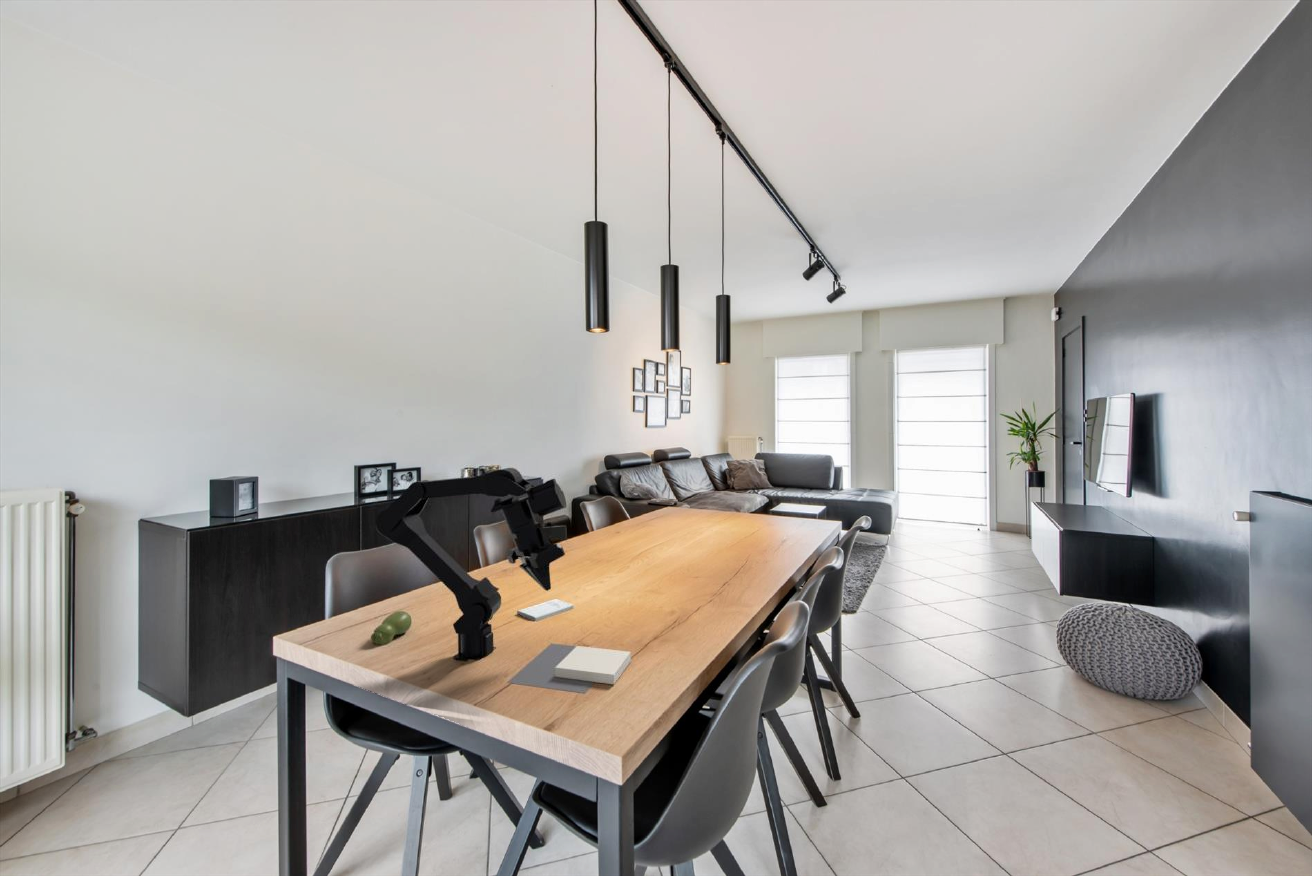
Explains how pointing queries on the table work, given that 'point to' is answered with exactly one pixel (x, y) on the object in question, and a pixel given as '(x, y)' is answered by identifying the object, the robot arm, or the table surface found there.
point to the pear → (391, 627)
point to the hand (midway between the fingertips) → (548, 589)
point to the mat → (549, 671)
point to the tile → (593, 664)
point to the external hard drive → (545, 609)
